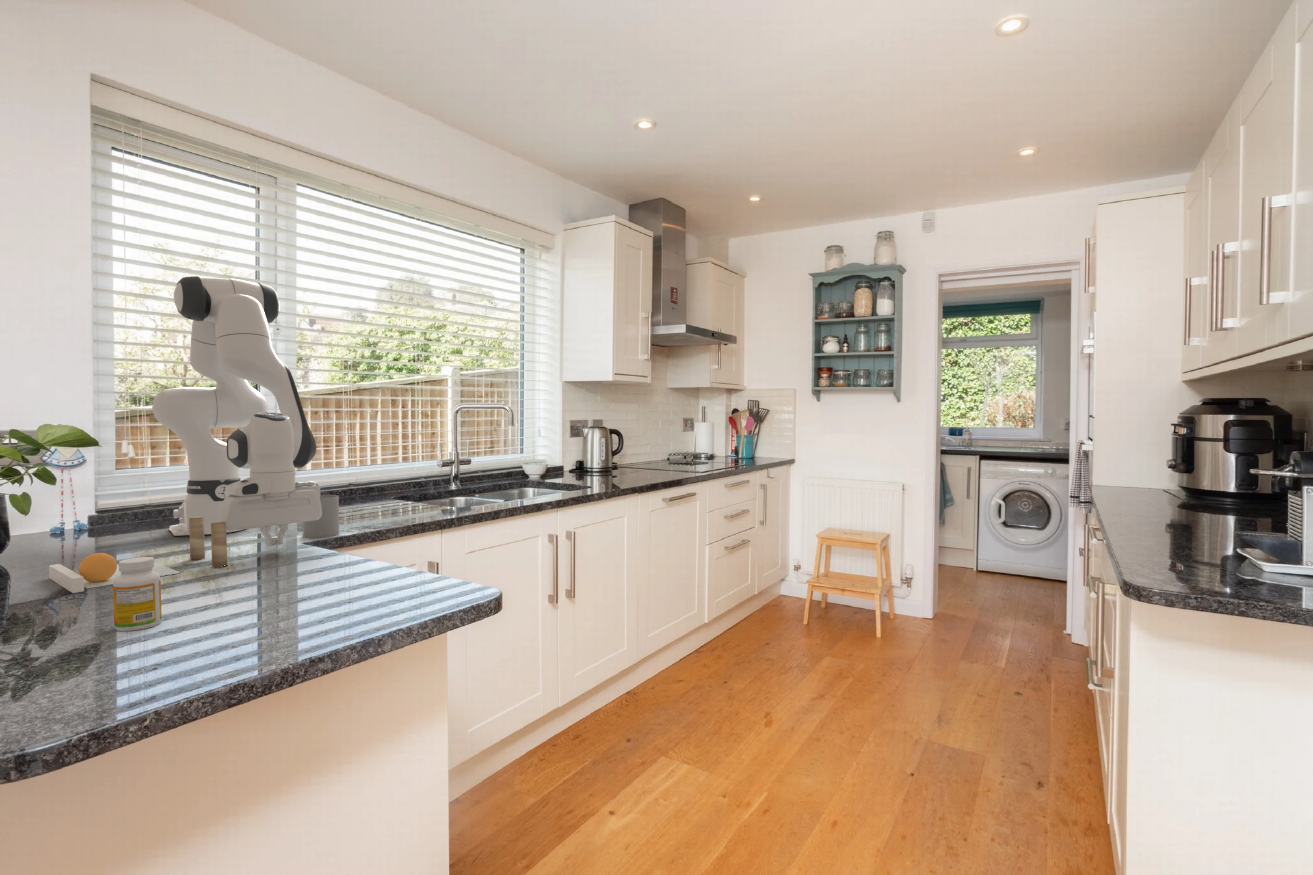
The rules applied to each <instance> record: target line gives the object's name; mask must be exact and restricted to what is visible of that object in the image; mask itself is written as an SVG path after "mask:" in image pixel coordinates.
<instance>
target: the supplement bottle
mask: <svg viewBox="0 0 1313 875" xmlns="http://www.w3.org/2000/svg"><path fill="white" fill-rule="evenodd" d="M154 564H155V558H154V556H153V557H152V556H140V557H139V556H138V557H132V558H125V559H123V560H119V561H118V569H119V572H121V575H120V576H118V577H116V578H115V579H114V581H113V584H112V594H113V595H112V596H113V597H112V598H113V600H112V601H113V603H112V604H113V625H114V626H113V627H114V629H115V630H116V631H118V632H132V631H140V630H145V629H150V628H152V627H155V626H157V625H159V624H160V623H161V622H162V620H163V619H162V618H163V617H162V616H163V615H162V588H161V587H162V586H161V585H162V584H161V583H162V582H161V577H160V575H159V573H157V572H155V571H152V568H154Z"/></svg>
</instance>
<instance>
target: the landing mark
mask: <svg viewBox="0 0 1313 875" xmlns="http://www.w3.org/2000/svg"><path fill="white" fill-rule="evenodd" d="M152 571H155V572H157V573H159V575H160V576H161V577H166V576H165V575H168V576H172V574H174V575H179V573H180V574H181V572H180V571H178V570H175V569H173V568H171V567H168V566H165V565H162V564H160V563H156V562H154V568H152ZM120 575H121V572H119V568H117V569H116V572H115V573H114V575H113V576H112V577H110V578H109V579H107V580H105V581H102V582H89V581H86V580H84V589H93V588H94V589H95V588H100V587H105V586H113V581H114V579H115V578H116V577H118V576H120Z"/></svg>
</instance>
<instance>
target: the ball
mask: <svg viewBox="0 0 1313 875" xmlns="http://www.w3.org/2000/svg"><path fill="white" fill-rule="evenodd" d="M116 569H118V563H117V560H116V558H115V557H113V556H112V555H111V554H108V553H104V552H95V553H92V554H89V555H88V556H85V557H84V558H83V559H82V560H81V562H80V564H79V566H78V574H79V575H81V576H82V577H84V580H86V581H89V582H102V581H105V580H107V579H109V578H110V577H112V576H113V575H114V573H115V572H116Z"/></svg>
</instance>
